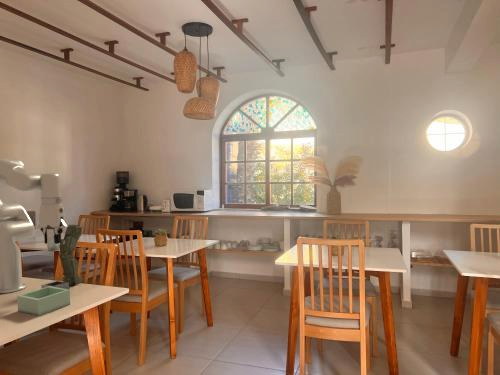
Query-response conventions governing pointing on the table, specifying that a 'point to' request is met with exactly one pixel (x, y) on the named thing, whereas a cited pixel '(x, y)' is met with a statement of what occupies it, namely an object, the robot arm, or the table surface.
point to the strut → (51, 239)
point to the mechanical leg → (70, 254)
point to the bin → (43, 300)
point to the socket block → (57, 285)
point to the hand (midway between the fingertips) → (52, 242)
